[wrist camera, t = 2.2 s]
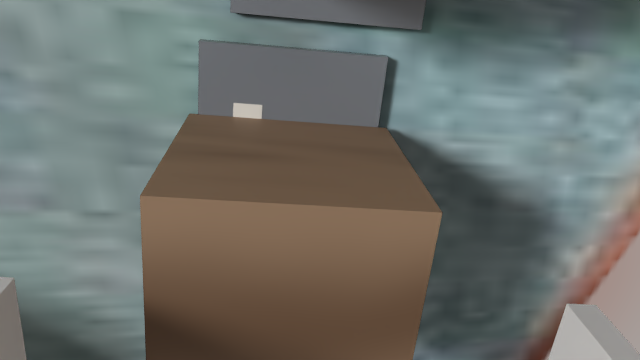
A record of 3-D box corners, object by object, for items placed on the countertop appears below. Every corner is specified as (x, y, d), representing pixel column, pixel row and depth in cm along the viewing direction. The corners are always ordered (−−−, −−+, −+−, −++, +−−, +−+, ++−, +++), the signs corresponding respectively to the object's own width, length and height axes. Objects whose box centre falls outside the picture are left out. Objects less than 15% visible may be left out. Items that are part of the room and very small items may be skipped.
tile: (346, 333, 23) (347, 339, 22) (197, 328, 22) (196, 335, 22) (385, 55, 18) (388, 57, 18) (200, 39, 18) (199, 40, 17)
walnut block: (362, 290, 21) (397, 431, 15) (188, 284, 21) (148, 428, 14) (386, 128, 19) (442, 212, 12) (189, 113, 18) (139, 196, 12)
